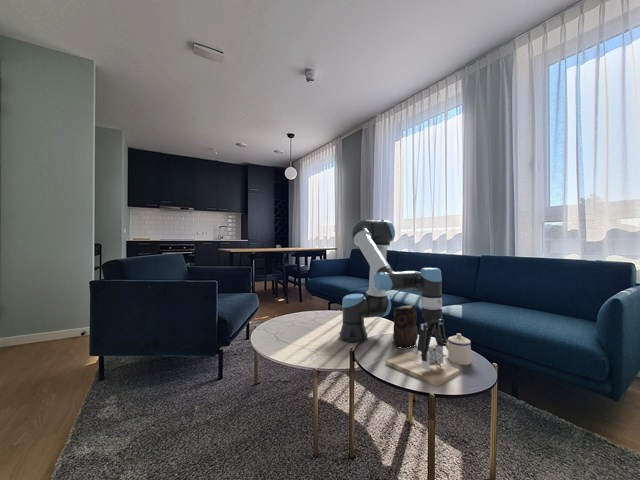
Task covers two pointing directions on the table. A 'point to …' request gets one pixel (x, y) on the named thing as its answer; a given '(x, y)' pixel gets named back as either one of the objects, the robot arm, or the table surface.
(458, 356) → the teacup with lid
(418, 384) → the table surface
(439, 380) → the board
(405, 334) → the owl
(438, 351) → the game die
